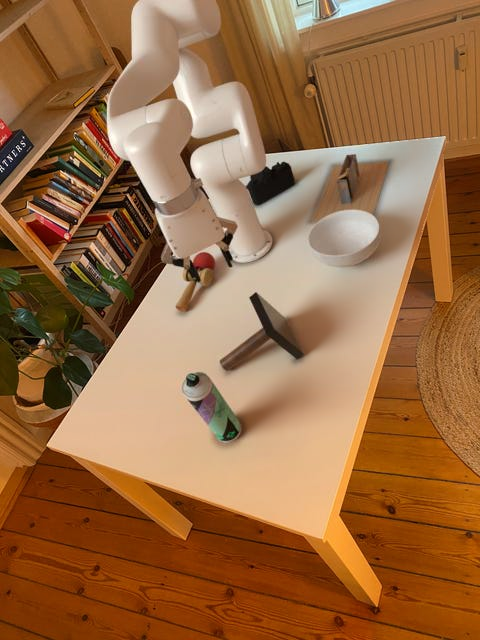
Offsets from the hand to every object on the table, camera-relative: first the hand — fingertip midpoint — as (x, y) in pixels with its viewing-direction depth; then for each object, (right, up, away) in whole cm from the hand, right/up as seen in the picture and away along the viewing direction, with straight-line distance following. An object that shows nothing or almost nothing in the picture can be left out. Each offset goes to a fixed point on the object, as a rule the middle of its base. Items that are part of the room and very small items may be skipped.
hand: (213, 270), depth 96 cm
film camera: (+14, +30, +53) cm, 62 cm away
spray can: (+3, -32, +4) cm, 33 cm away
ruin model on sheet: (+36, +26, +40) cm, 60 cm away
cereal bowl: (+32, +7, +25) cm, 41 cm away
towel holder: (+10, -17, +14) cm, 24 cm away
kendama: (-6, -1, +35) cm, 36 cm away
